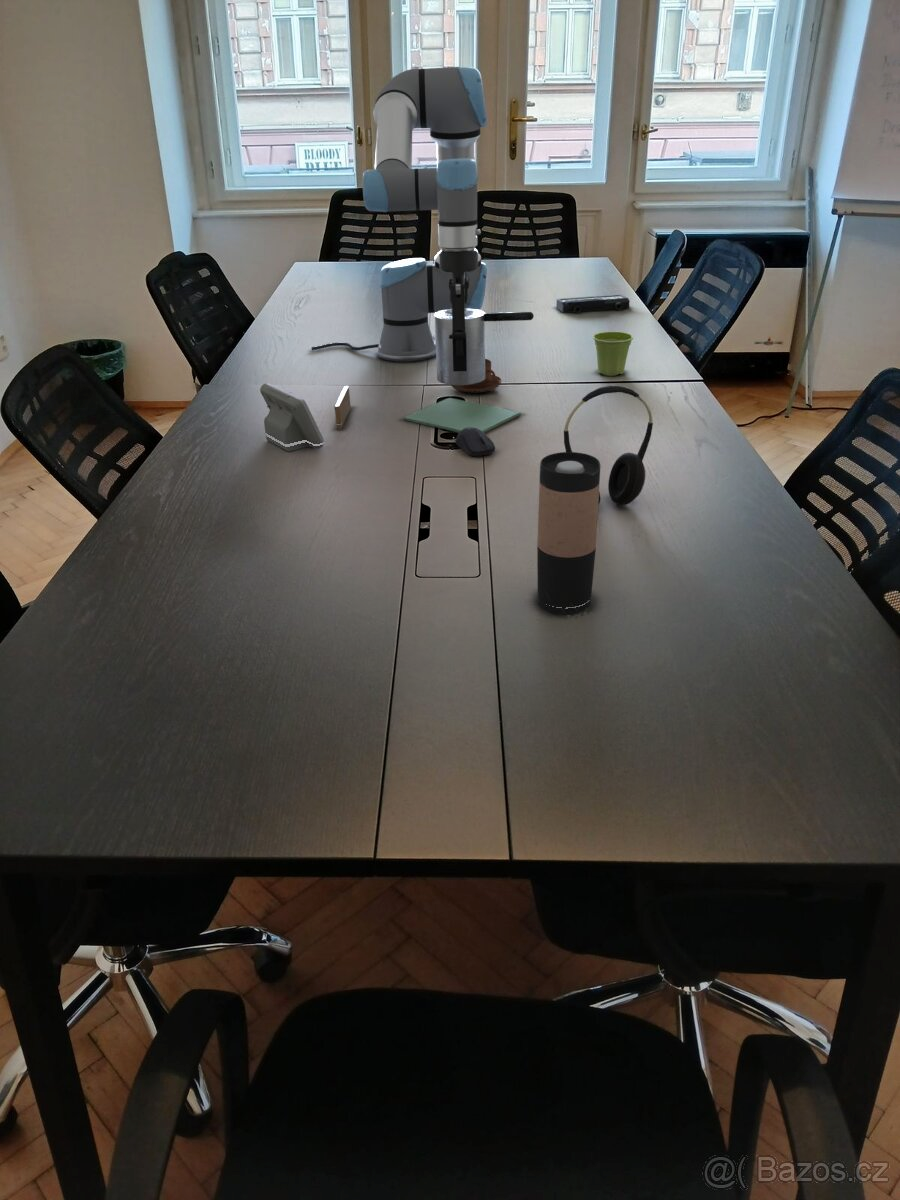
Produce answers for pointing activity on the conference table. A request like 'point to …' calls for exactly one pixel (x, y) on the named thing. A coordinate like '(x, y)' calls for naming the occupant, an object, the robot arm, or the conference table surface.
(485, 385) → the cup and saucer
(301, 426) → the digital clock
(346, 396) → the wooden block
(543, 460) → the travel mug
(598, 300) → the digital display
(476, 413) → the mat
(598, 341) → the plant pot
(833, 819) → the conference table surface
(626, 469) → the headphones
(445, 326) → the pot
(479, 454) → the computer mouse
